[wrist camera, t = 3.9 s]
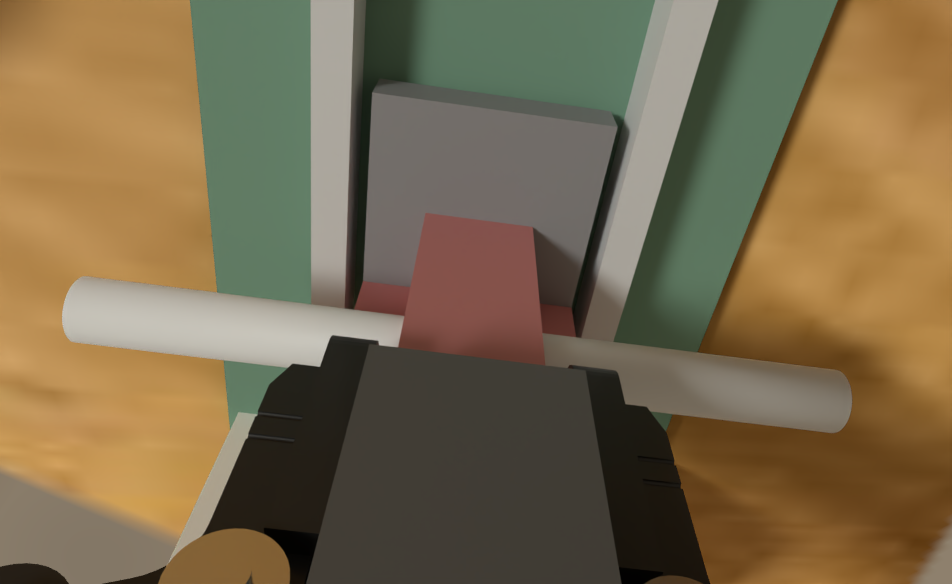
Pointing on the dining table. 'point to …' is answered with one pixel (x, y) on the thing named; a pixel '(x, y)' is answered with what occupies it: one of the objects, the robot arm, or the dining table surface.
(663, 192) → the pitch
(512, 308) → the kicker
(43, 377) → the dining table surface
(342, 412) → the robot arm
